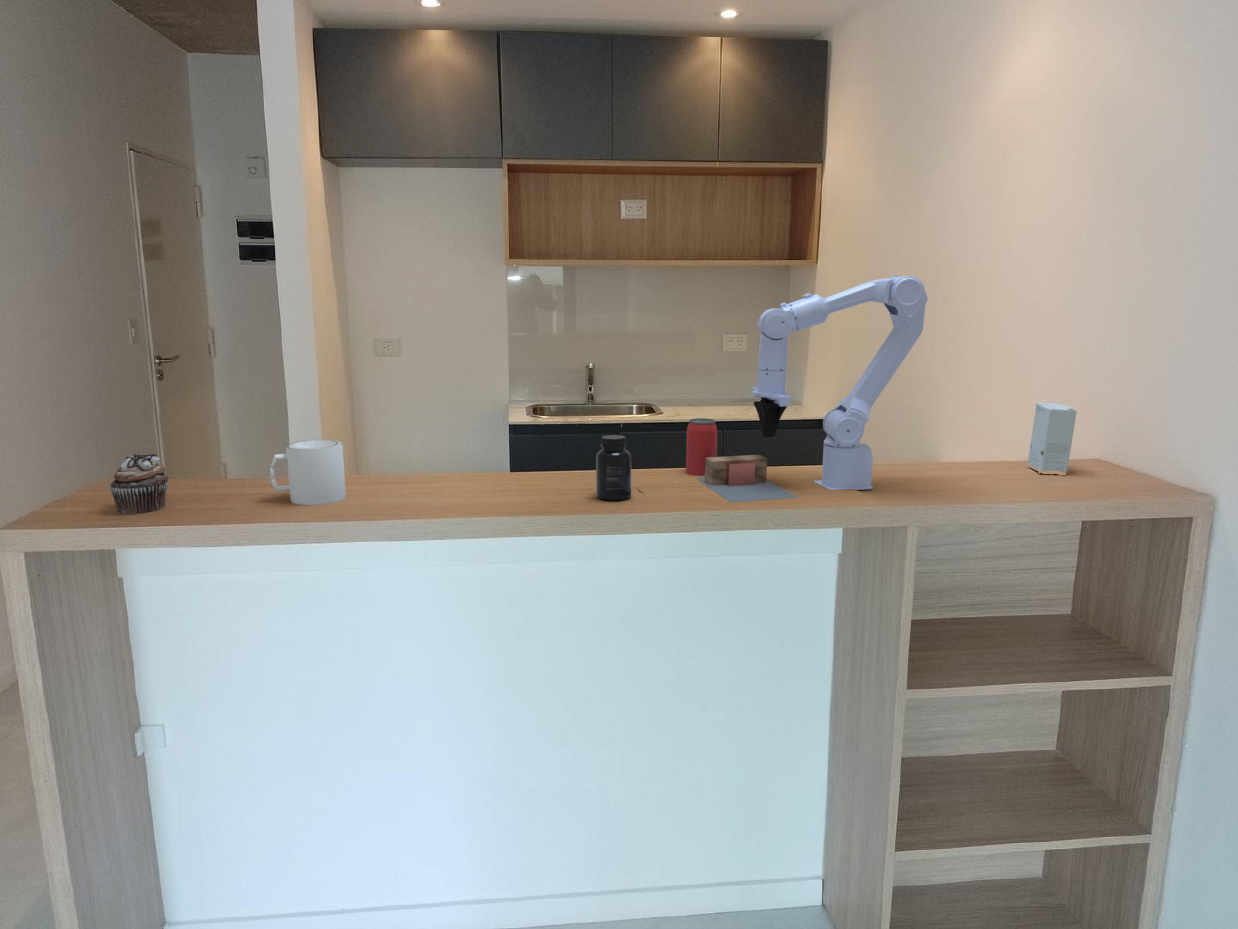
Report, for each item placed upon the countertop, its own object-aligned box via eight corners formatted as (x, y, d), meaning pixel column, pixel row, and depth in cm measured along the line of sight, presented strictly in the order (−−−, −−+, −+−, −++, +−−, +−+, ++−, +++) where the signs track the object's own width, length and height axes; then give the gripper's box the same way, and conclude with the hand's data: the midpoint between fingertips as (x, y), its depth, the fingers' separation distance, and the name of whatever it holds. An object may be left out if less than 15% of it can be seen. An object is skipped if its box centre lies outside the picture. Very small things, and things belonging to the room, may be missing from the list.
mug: (270, 508, 161) (265, 452, 158) (273, 495, 170) (269, 442, 168) (346, 502, 165) (342, 448, 162) (345, 490, 174) (342, 438, 172)
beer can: (714, 479, 184) (716, 423, 182) (683, 477, 186) (685, 422, 183) (717, 472, 191) (719, 418, 188) (687, 470, 192) (688, 417, 189)
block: (758, 477, 183) (759, 454, 182) (766, 482, 179) (767, 458, 178) (704, 481, 180) (705, 457, 179) (711, 485, 176) (712, 461, 175)
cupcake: (121, 503, 164) (115, 451, 162) (177, 500, 166) (171, 449, 164) (104, 516, 155) (97, 462, 153) (163, 513, 157) (157, 459, 155)
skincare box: (1026, 467, 196) (1033, 402, 193) (1054, 467, 196) (1061, 402, 193) (1040, 475, 188) (1048, 407, 185) (1069, 476, 188) (1077, 408, 185)
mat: (757, 477, 186) (757, 474, 186) (798, 500, 167) (798, 497, 167) (695, 480, 183) (695, 478, 182) (730, 505, 164) (730, 501, 164)
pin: (754, 484, 177) (755, 463, 176) (728, 486, 176) (729, 464, 175) (740, 476, 184) (741, 455, 183) (716, 478, 182) (716, 457, 181)
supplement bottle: (637, 495, 170) (638, 435, 168) (619, 503, 165) (620, 441, 162) (607, 491, 174) (607, 432, 171) (589, 498, 168) (589, 437, 166)
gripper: (739, 365, 179) (736, 430, 182) (768, 374, 165) (764, 443, 168) (771, 365, 181) (767, 429, 183) (802, 373, 167) (797, 442, 170)
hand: (768, 436), depth 176 cm, fingers closed
